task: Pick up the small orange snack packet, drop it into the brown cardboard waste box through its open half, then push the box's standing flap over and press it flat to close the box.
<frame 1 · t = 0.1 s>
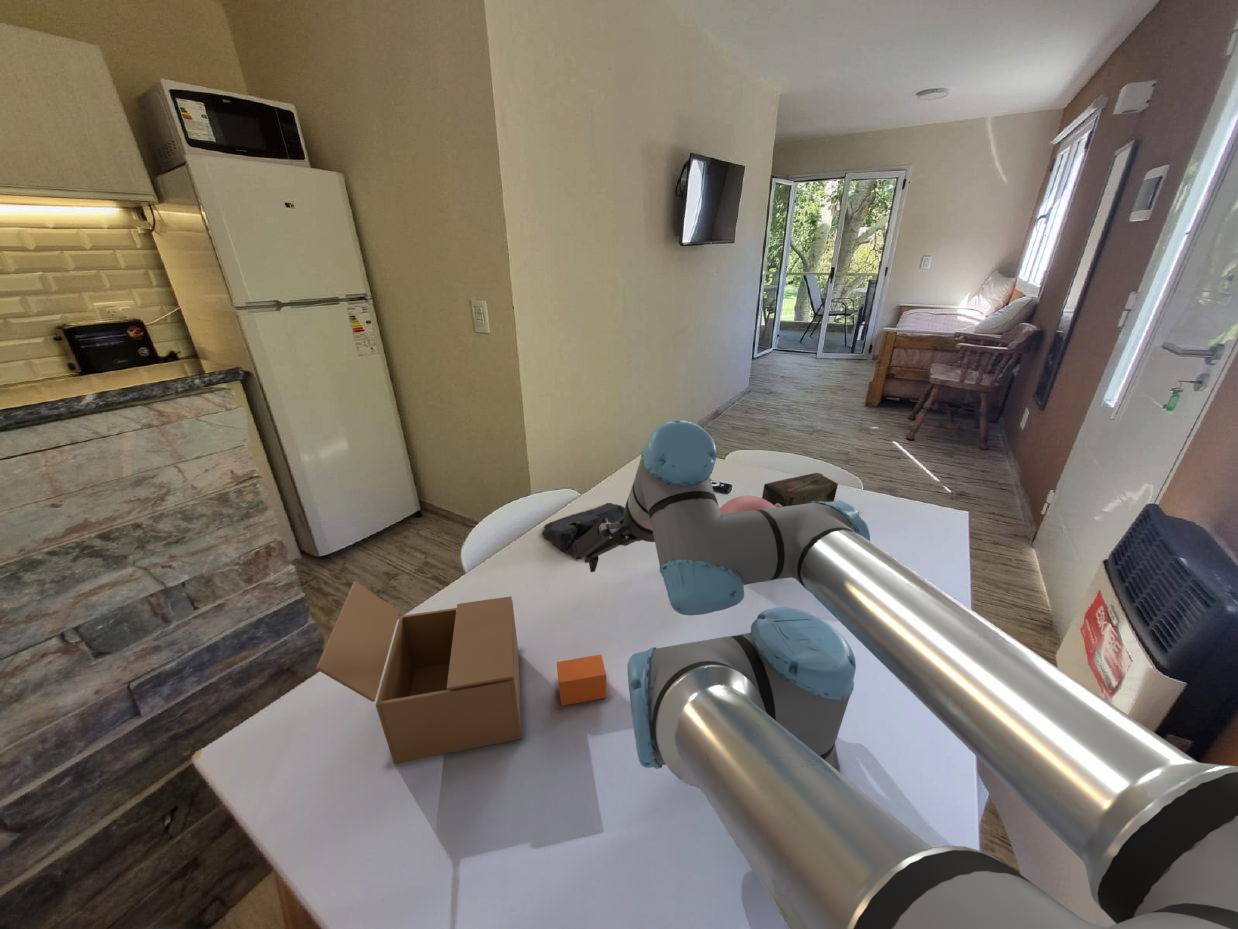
hand: (631, 558, 81), 15 cm above the table, tool tilted 35°, fingers open, 13 cm apart
waste box: (463, 701, 73), on the table
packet: (582, 691, 75), on the table
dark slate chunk: (591, 530, 116), on the table
balloon: (752, 559, 106), on the table
brown wooden block: (797, 504, 128), on the table
flap: (363, 636, 64), point 16 cm above the table, hinge at 125.0°
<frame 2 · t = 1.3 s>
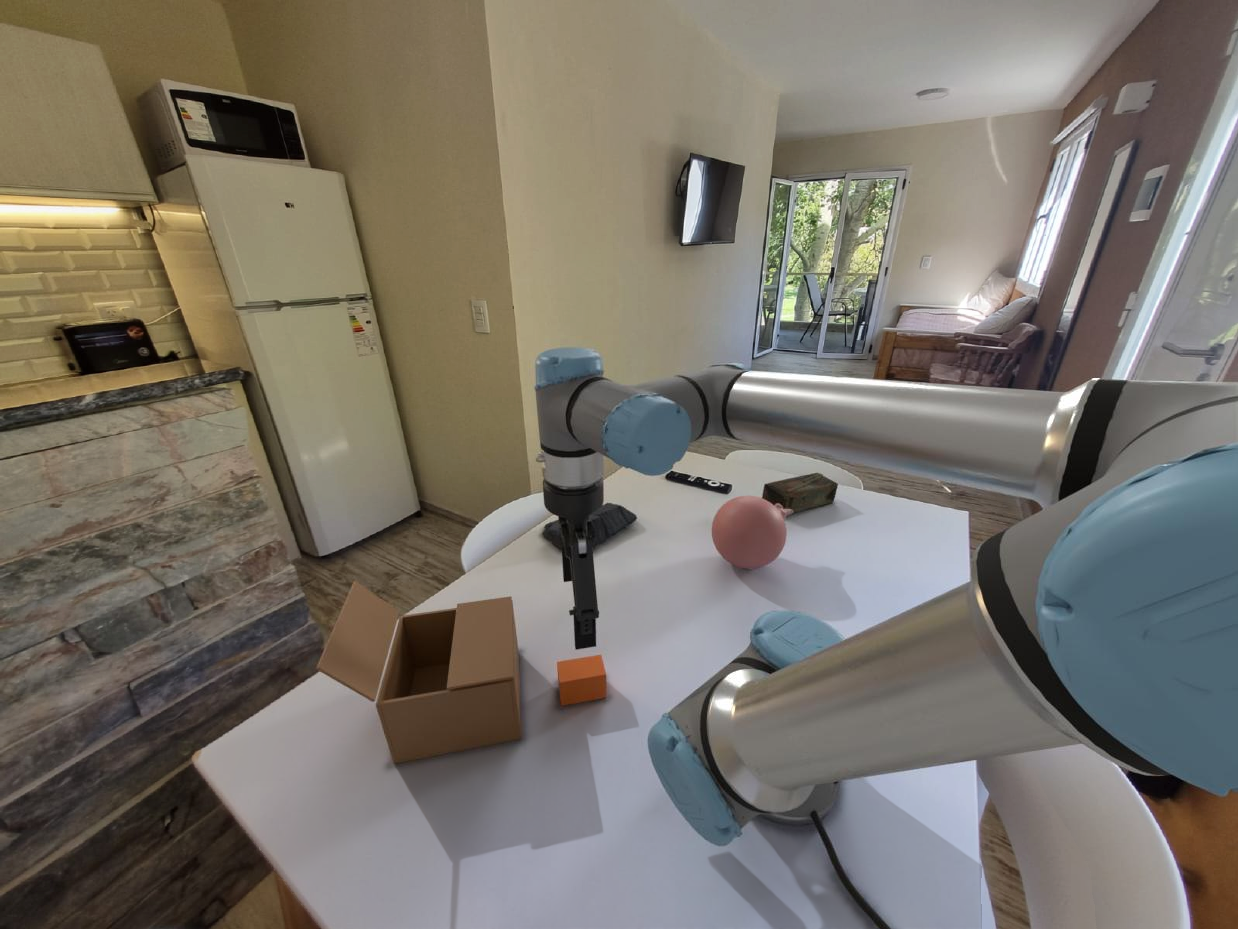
hand: (578, 610, 68), 16 cm above the table, tool pointing down, fingers open, 13 cm apart
nothing on the table moved.
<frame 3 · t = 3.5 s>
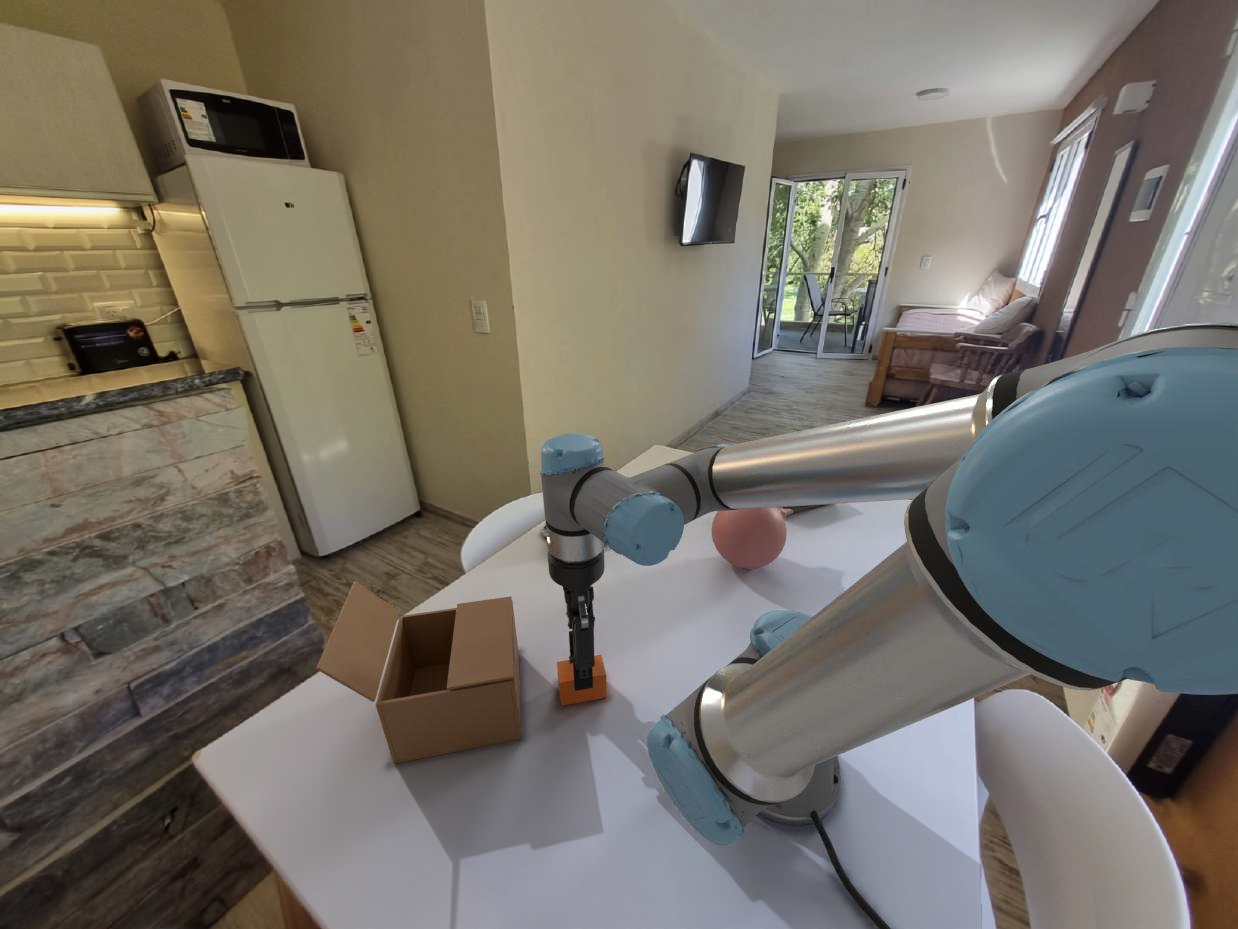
hand: (581, 674, 73), 4 cm above the table, tool pointing down, fingers closed on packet, 4 cm apart
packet: (582, 691, 75), on the table, touching gripper
everything else where it was.
when the fingers open (13 cm above the table, at t = 9.3 s): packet drops 9 cm, resting on waste box.
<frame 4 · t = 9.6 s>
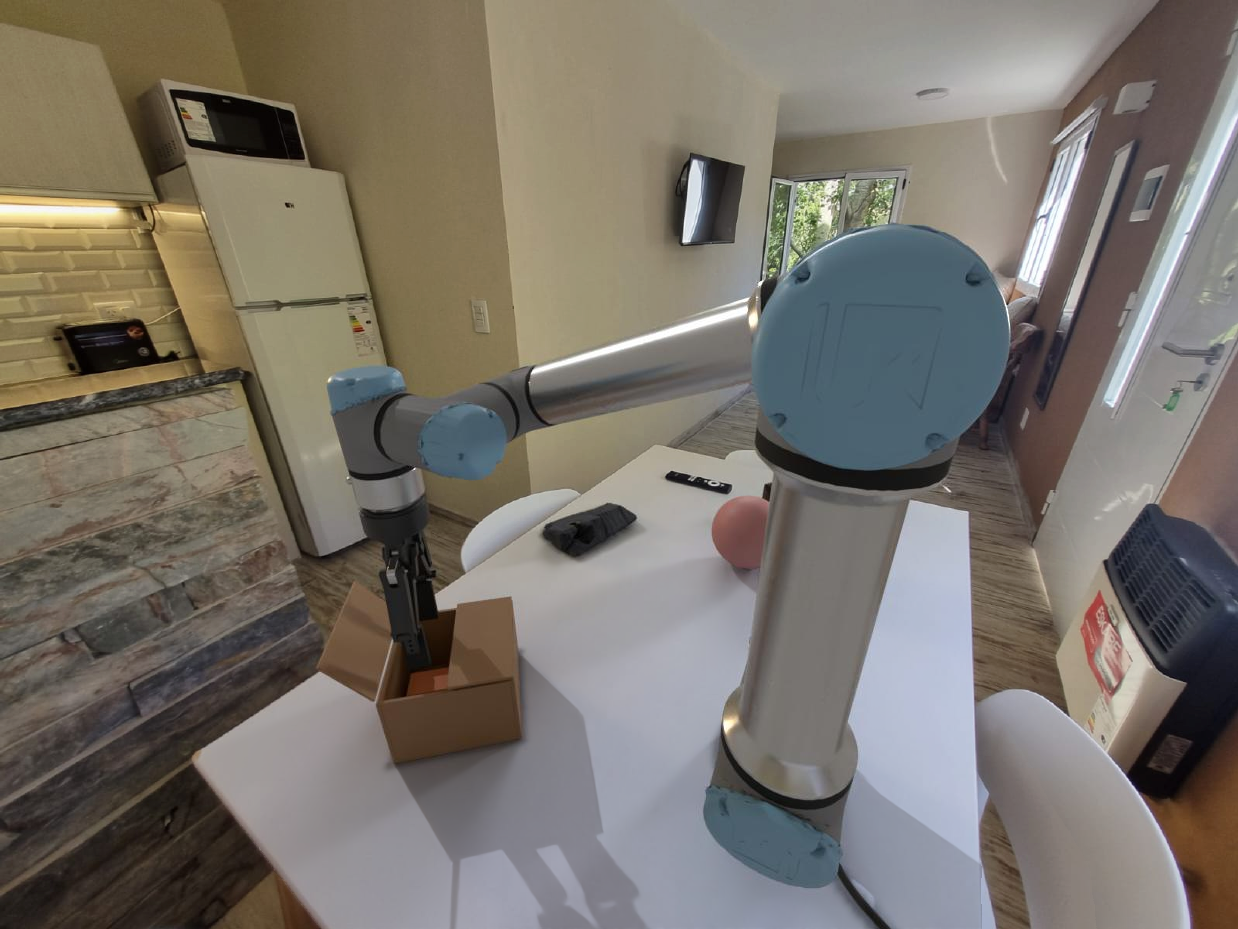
hand: (424, 640, 67), 13 cm above the table, tool pointing down, fingers open, 8 cm apart
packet: (439, 703, 72), resting on waste box
everything else where it was.
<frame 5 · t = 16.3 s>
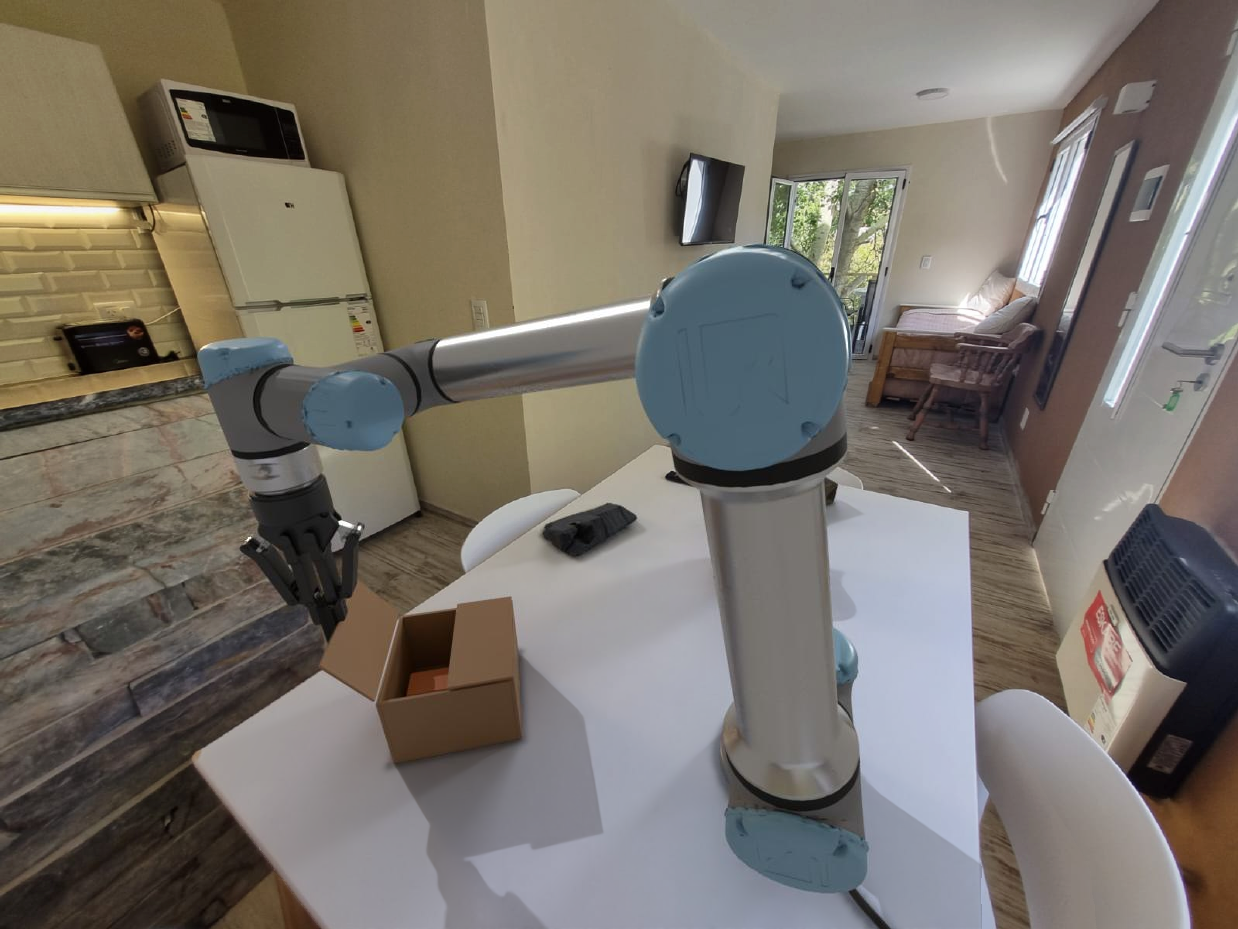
hand: (338, 638, 64), 16 cm above the table, tool pointing down, fingers closed
flap: (364, 635, 64), point 16 cm above the table, hinge at 122.7°, touching gripper
everything else where it was.
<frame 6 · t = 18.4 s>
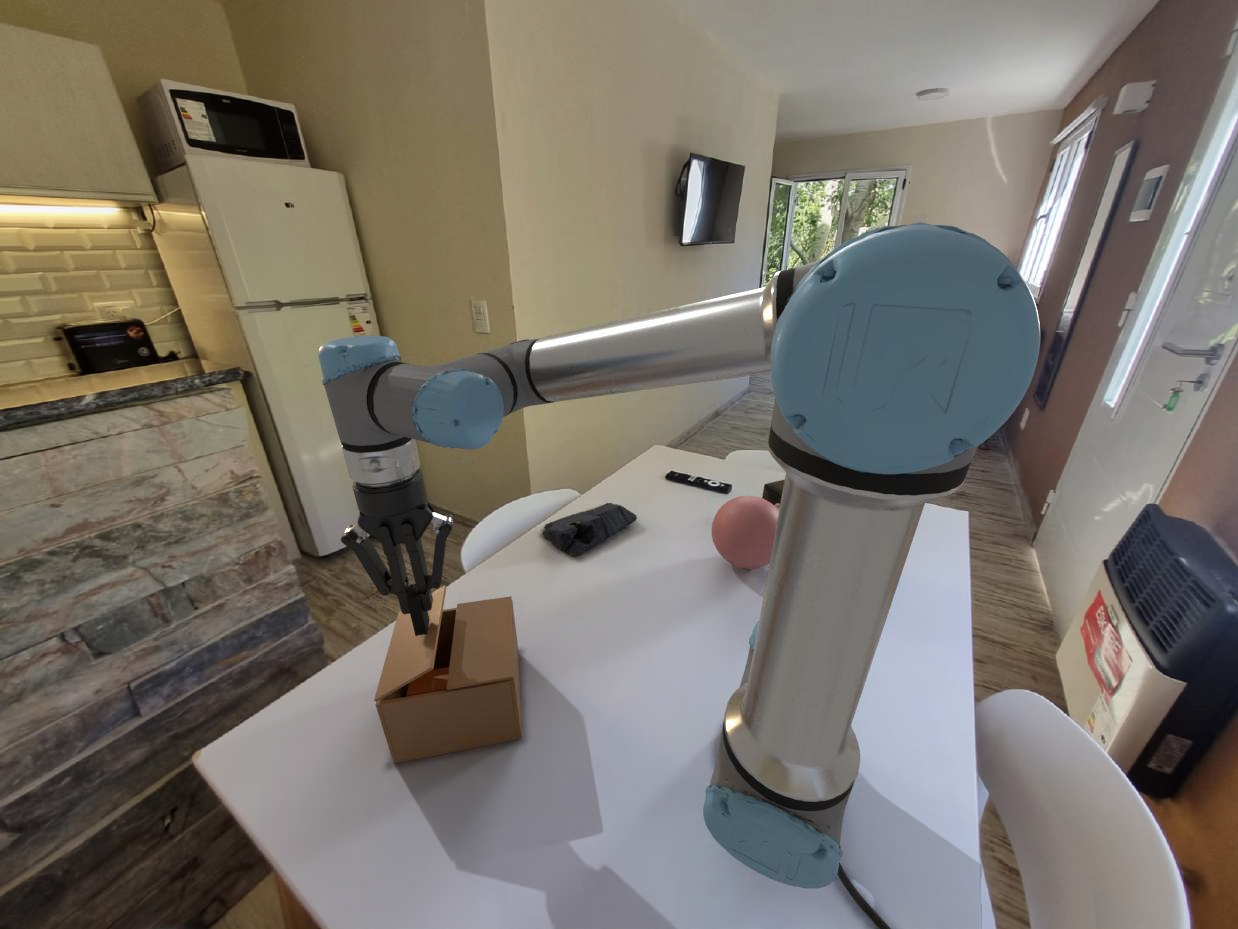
hand: (422, 627, 66), 16 cm above the table, tool pointing down, fingers closed
flap: (414, 637, 66), point 14 cm above the table, hinge at 27.8°
everything else where it was.
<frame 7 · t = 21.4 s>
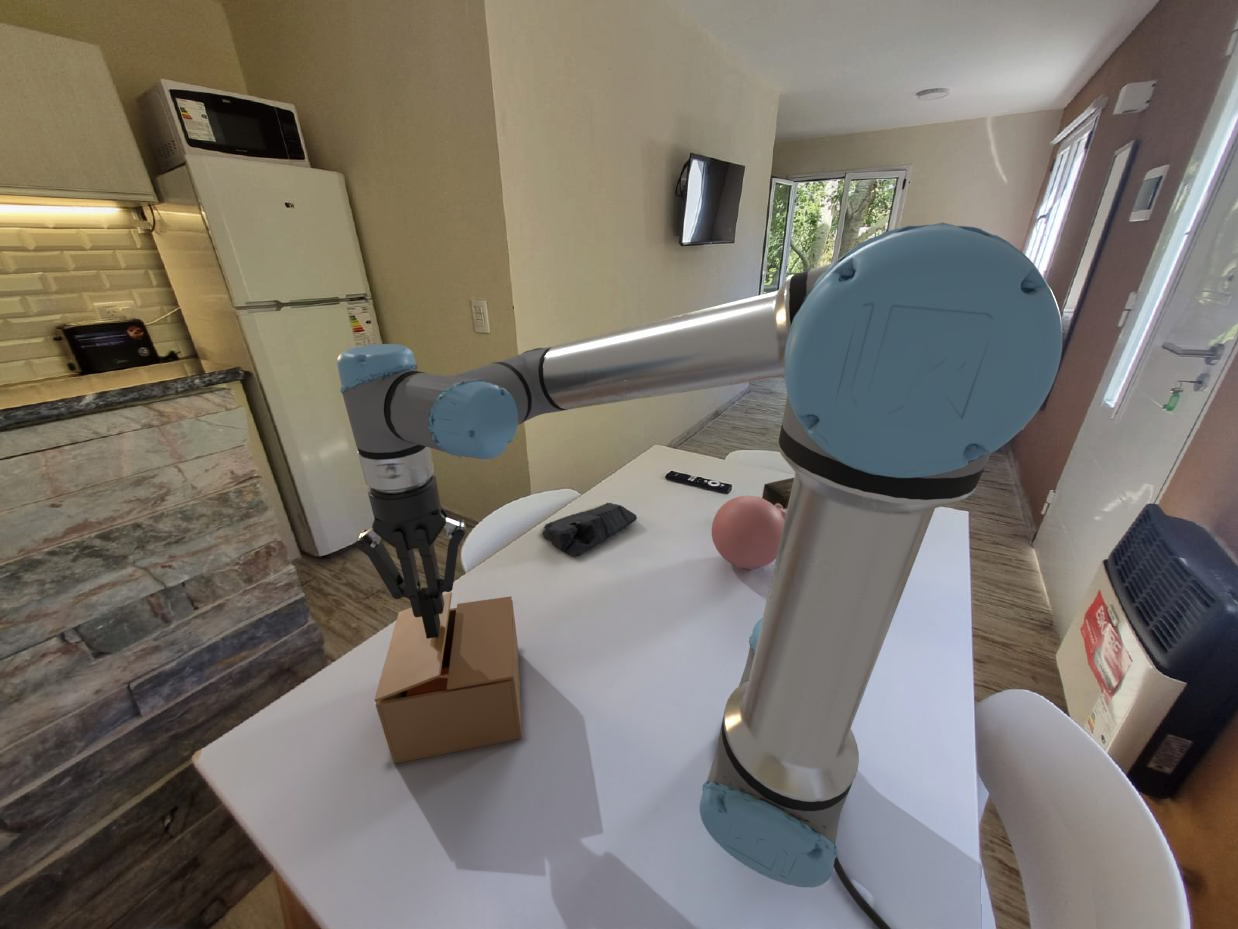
hand: (433, 630, 66), 15 cm above the table, tool pointing down, fingers closed
flap: (417, 641, 67), point 13 cm above the table, hinge at 16.8°, touching gripper
everything else where it was.
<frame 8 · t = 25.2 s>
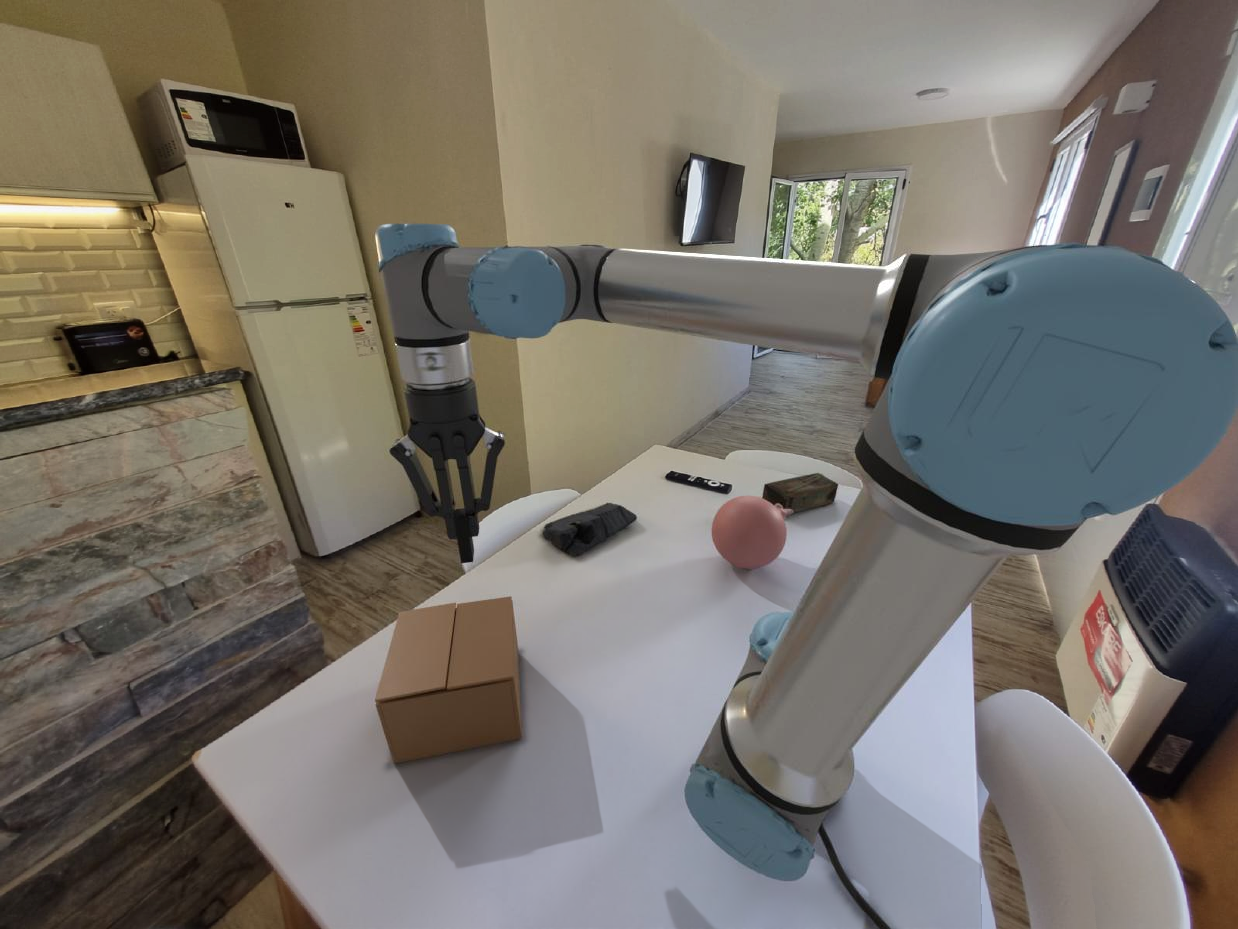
hand: (467, 556, 63), 26 cm above the table, tool pointing down, fingers closed
flap: (420, 646, 67), point 12 cm above the table, hinge at 2.1°
everything else where it was.
at the end: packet inside the target area in the waste box (3.5 cm from its centre), point 0.5 cm above the waste box's base; flap at +2° (first picture: +125°); the gripper is holding nothing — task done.
